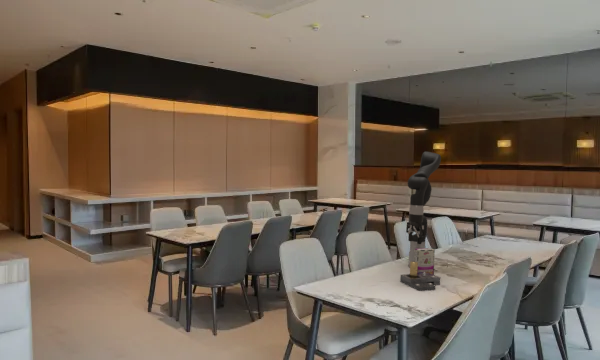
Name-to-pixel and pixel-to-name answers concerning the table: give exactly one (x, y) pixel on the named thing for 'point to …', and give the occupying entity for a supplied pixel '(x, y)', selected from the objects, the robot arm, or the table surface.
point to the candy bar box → (424, 260)
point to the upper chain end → (422, 278)
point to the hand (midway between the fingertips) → (414, 242)
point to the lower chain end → (419, 285)
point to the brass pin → (413, 269)
